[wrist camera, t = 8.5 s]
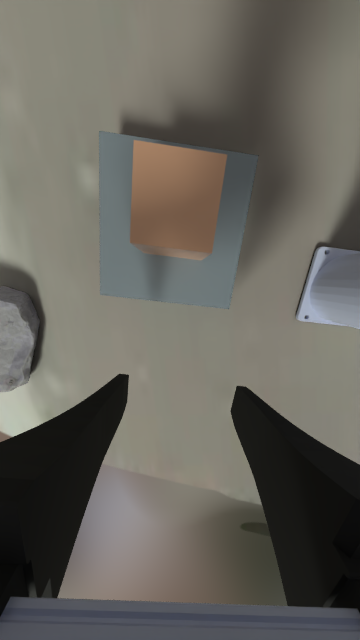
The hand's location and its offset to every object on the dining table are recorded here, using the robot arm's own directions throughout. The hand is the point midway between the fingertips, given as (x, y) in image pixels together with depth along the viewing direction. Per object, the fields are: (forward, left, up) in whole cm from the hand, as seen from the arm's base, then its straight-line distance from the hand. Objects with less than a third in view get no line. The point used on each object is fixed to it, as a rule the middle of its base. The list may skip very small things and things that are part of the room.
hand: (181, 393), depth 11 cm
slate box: (+2, -11, -10) cm, 15 cm away
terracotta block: (+2, -12, -6) cm, 13 cm away
